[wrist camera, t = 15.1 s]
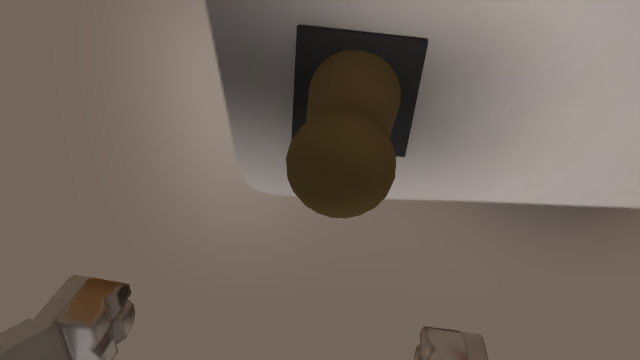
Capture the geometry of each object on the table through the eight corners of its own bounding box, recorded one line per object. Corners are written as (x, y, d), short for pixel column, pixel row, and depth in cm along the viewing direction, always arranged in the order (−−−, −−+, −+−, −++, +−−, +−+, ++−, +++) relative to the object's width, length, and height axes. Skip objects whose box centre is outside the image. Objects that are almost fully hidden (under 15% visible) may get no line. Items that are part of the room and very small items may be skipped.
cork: (405, 133, 30) (411, 234, 21) (317, 142, 31) (286, 241, 22) (396, 42, 27) (399, 113, 18) (300, 56, 28) (255, 129, 19)
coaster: (292, 139, 32) (291, 142, 31) (298, 24, 28) (296, 25, 27) (404, 154, 31) (404, 157, 31) (427, 38, 27) (428, 40, 27)
